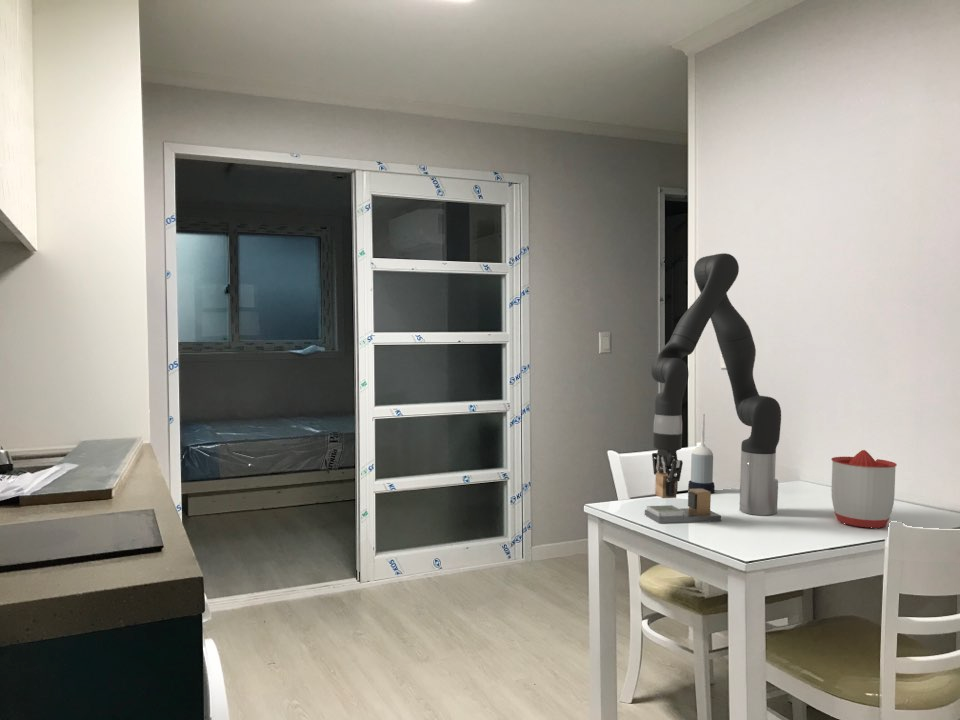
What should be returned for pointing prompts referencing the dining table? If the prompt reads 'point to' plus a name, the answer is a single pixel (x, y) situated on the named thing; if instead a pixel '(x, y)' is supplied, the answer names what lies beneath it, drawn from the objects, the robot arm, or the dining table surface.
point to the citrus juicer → (863, 490)
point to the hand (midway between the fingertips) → (665, 493)
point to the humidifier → (702, 466)
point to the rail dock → (686, 510)
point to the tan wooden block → (663, 486)
